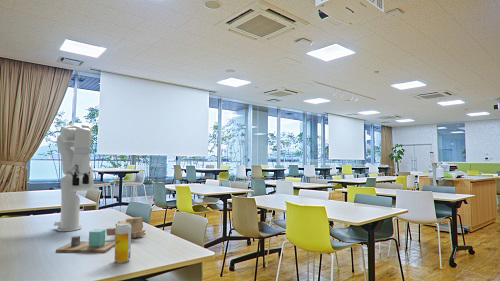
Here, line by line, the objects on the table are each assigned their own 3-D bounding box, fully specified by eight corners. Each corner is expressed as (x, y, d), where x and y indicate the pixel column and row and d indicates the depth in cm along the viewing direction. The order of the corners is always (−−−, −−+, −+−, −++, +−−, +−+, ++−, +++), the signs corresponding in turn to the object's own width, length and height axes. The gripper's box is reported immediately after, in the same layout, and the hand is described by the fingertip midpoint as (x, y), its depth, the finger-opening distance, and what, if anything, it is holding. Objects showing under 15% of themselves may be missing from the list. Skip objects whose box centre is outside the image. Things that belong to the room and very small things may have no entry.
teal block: (88, 246, 144) (89, 231, 145) (94, 243, 149) (94, 229, 150) (99, 246, 144) (100, 231, 145) (105, 243, 149) (105, 229, 150)
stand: (55, 252, 140) (56, 240, 140) (72, 243, 154) (73, 233, 154) (105, 252, 140) (105, 240, 140) (117, 244, 154) (118, 233, 154)
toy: (152, 214, 175) (124, 217, 182) (126, 221, 157) (96, 223, 164) (153, 232, 174) (125, 234, 181) (128, 241, 156) (98, 242, 162)
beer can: (117, 258, 132) (118, 222, 133) (132, 258, 132) (133, 222, 133) (112, 263, 126) (113, 225, 127) (127, 263, 126) (128, 225, 127)
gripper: (83, 152, 172) (82, 183, 171) (65, 151, 154) (63, 186, 153) (97, 152, 172) (96, 183, 171) (80, 151, 154) (79, 186, 154)
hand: (80, 184), depth 162 cm, fingers open, 9 cm apart
